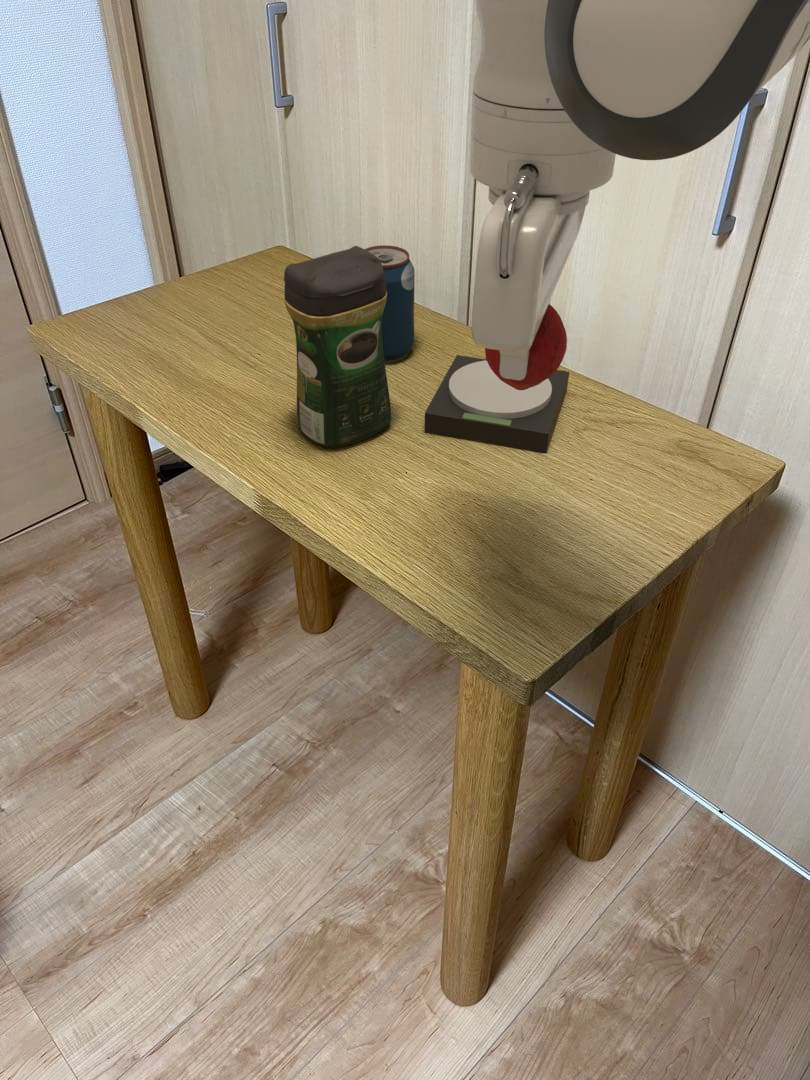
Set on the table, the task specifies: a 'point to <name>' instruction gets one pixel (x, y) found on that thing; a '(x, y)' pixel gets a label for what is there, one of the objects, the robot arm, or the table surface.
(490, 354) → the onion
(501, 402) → the scale
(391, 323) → the soda can
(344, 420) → the coffee jar
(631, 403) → the table surface
